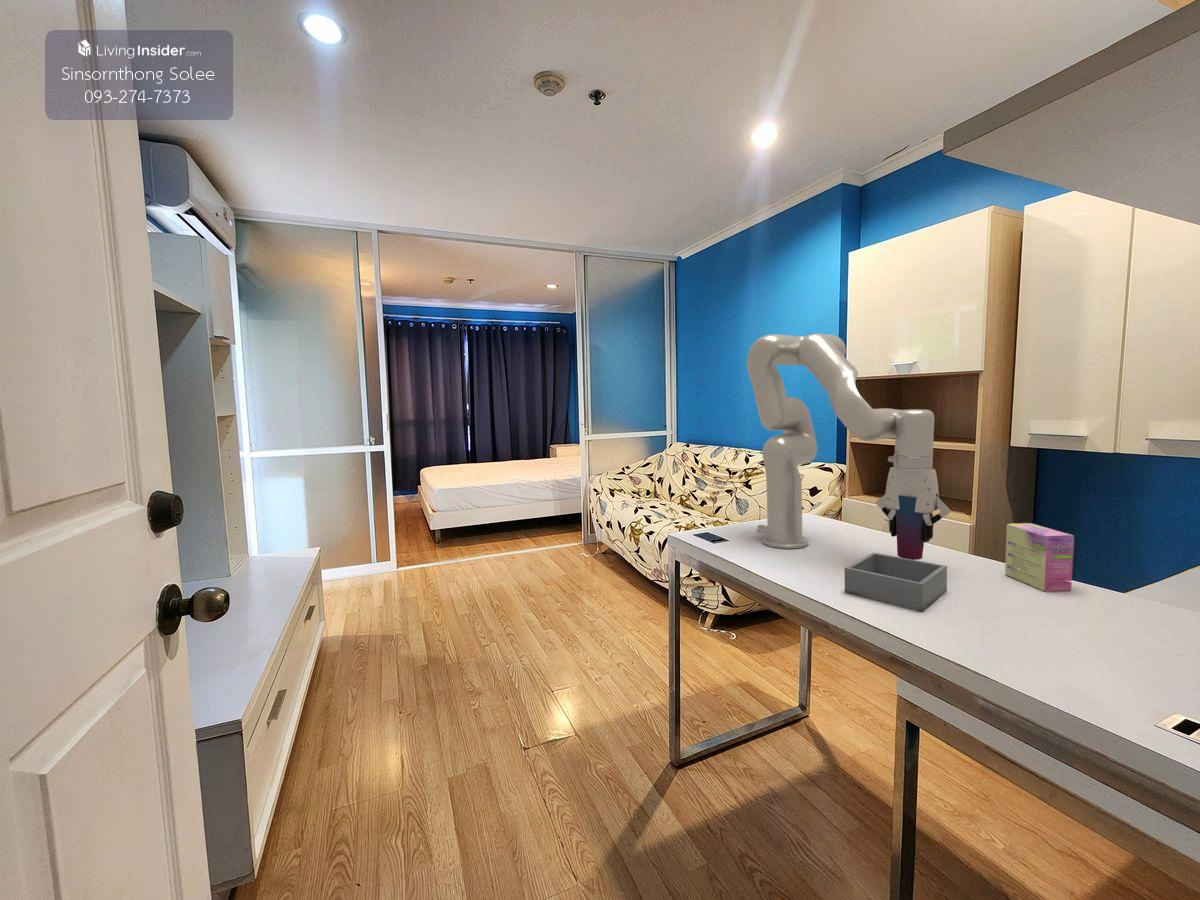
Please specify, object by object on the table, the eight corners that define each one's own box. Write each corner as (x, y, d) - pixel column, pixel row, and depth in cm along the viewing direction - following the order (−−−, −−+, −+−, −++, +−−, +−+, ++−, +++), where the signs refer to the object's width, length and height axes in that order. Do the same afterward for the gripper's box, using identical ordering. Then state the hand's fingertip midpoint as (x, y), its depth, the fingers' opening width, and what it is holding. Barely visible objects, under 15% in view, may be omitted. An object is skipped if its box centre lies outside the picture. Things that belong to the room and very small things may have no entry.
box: (1072, 591, 102) (1074, 534, 101) (1044, 592, 102) (1046, 535, 101) (1030, 574, 112) (1031, 522, 111) (1004, 575, 112) (1005, 523, 111)
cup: (933, 560, 115) (936, 496, 114) (904, 561, 115) (906, 497, 114) (914, 551, 122) (917, 491, 120) (887, 552, 122) (889, 492, 120)
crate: (844, 592, 107) (844, 567, 106) (872, 575, 116) (872, 552, 116) (922, 612, 96) (922, 584, 95) (946, 591, 105) (947, 565, 104)
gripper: (867, 461, 120) (865, 534, 122) (951, 468, 107) (948, 549, 109) (879, 458, 125) (877, 528, 127) (962, 464, 112) (958, 542, 114)
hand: (910, 537), depth 118 cm, fingers closed on cup, 6 cm apart
